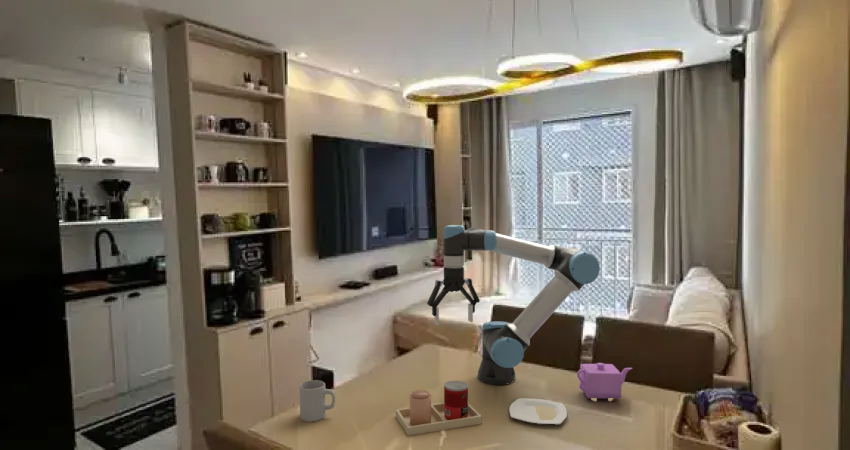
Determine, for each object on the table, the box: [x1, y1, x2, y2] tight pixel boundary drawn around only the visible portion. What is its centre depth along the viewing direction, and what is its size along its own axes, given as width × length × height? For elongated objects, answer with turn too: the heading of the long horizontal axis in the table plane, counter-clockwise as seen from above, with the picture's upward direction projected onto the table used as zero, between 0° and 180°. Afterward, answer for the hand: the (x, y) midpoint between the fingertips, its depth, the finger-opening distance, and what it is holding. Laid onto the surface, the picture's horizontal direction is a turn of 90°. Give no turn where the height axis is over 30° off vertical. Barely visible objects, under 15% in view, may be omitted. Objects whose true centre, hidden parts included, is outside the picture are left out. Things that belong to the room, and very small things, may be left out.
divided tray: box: [395, 402, 483, 437], centre depth 166 cm, size 25×14×3 cm, turn 109°
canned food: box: [443, 380, 469, 420], centre depth 168 cm, size 8×8×11 cm
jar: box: [409, 389, 432, 426], centre depth 164 cm, size 7×7×10 cm
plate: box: [509, 397, 568, 425], centre depth 171 cm, size 19×19×2 cm
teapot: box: [576, 362, 633, 399], centre depth 185 cm, size 20×10×12 cm, turn 88°
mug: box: [299, 379, 336, 423], centre depth 170 cm, size 12×8×11 cm
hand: (453, 322), depth 189 cm, fingers open, 13 cm apart
